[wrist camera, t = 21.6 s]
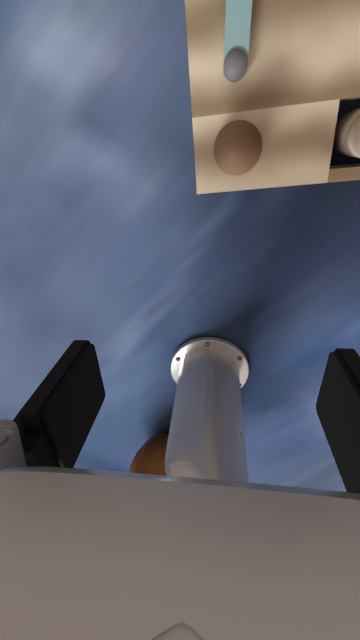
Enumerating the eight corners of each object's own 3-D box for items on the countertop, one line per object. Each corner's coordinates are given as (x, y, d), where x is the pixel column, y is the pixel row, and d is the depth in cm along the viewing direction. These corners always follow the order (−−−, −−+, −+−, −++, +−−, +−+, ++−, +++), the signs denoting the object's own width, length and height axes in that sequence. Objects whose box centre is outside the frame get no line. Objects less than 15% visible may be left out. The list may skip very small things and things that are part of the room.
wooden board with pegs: (386, 172, 31) (435, 183, 24) (198, 189, 34) (193, 203, 27) (463, -143, 20) (590, -288, 13) (182, -79, 23) (167, -171, 16)
